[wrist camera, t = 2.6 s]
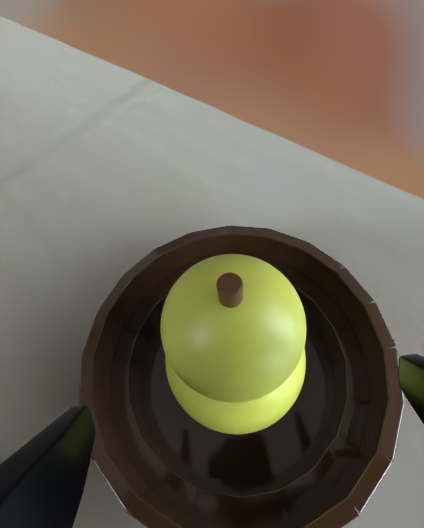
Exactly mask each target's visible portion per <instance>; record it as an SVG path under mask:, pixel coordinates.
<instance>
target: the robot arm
mask: <svg viewBox="0 0 424 528" xmlns="http://www.w3.org/2000/svg"><path fill="white" fill-rule="evenodd" d="M398 381H399V385H400V388H401V390H402V392H403V393H404V395H405V396H406V398H407V399H408V401H409V402H410V404H411V405H412V407H413V408H414V410H415V411H416V413H417V414H418V416H419V417H420V419H421V420H422V422H423V423H424V357H423V356H420V355H417V354H410V355H404V356H401V357H400V358H399V371H398ZM94 440H95V426H94V423H93V420H92V417H91V413H90V410H89V408H88V406H86V405H81V406H75V407H72V408H70V409H69V410H68V411H66V412H65V413H64V414H63V415H61V416H60V417H59V418H58V419H56V420H55V421H54V422H53V423H51V424H50V425H49V426H48V427H46V428H45V429H44V430H43V431H41V432H40V433H39V434H38V435H36V436H35V437H34V438H33V439H31V440H30V441H29V442H28V443H26V444H25V445H24V446H23V447H21V448H20V449H19V450H18V451H16V452H15V453H14V454H13V455H11V456H10V457H9V458H8V459H6V460H5V461H4V462H3V463H1V464H0V528H72V526H73V523H74V519H75V516H76V513H77V510H78V507H79V504H80V500H81V497H82V493H83V489H84V485H85V481H86V476H87V472H88V467H89V463H90V458H91V453H92V449H93V444H94Z"/></svg>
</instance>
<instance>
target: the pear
mask: <svg viewBox="0 0 424 528" xmlns="http://www.w3.org/2000/svg"><path fill="white" fill-rule="evenodd" d="M161 339H162V345H163V348H164V352H165V365H166V374H167V378H168V382H169V385H170V387H171V390H172V392H173V394H174V396H175V398H176V399H177V401H178V402H179V404H180V405H181V406H182V408H183V409H184V410H185V411H186V412H187V413H188V414H189V415H190V416H191V417H192V418H193V419H194V420H196V421H197V422H198V423H200V424H202V425H203V426H205V427H207V428H209V429H212V430H215V431H217V432H221V433H226V434H237V435H238V434H248V433H253V432H257V431H260V430H262V429H265V428H267V427H269V426H270V425H272V424H274V423H275V422H277V421H278V420H279V419H280V418H282V417H283V416H284V415H285V414H286V413H287V412H288V410H289V409H290V408H291V407H292V405H293V404H294V402H295V401H296V399H297V397H298V395H299V393H300V391H301V388H302V385H303V382H304V377H305V371H306V357H305V348H304V347H305V341H306V317H305V312H304V308H303V305H302V303H301V300H300V298H299V296H298V294H297V292H296V290H295V288H294V287H293V285H292V284H291V283H290V281H289V280H288V279H287V278H286V277H285V276H284V275H283V274H282V273H281V272H280V271H278V270H277V269H276V268H275V267H273V266H271V265H270V264H268V263H266V262H264V261H262V260H260V259H258V258H255V257H251V256H247V255H241V254H224V255H218V256H213V257H210V258H207V259H205V260H203V261H201V262H199V263H197V264H195V265H194V266H192V267H191V268H189V269H188V270H187V271H186V272H185V273H184V274H183V275H182V276H181V277H180V278H179V279H178V280H177V281H176V282H175V284H174V285H173V287H172V288H171V290H170V292H169V293H168V296H167V298H166V300H165V303H164V307H163V310H162V315H161Z"/></svg>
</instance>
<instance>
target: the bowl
mask: <svg viewBox="0 0 424 528" xmlns="http://www.w3.org/2000/svg"><path fill="white" fill-rule="evenodd" d="M224 254H241V255H247V256H251V257H255V258H258V259H260V260H262V261H264V262H266V263H268V264H270V265H271V266H273V267H275V268H276V269H277V270H278V271H280V272H281V273H282V274H283V275H284V276H285V277H286V278H287V279H288V280H289V281H290V283H291V284H292V285H293V287H294V288H295V290H296V292H297V294H298V296H299V298H300V300H301V303H302V305H303V308H304V312H305V317H306V341H305V347H304V348H305V357H306V371H305V377H304V382H303V385H302V388H301V391H300V393H299V395H298V397H297V399H296V401H295V402H294V404H293V405H292V407H291V408H290V409H289V410H288V412H287V413H286V414H285V415H284V416H283V417H282V418H280V419H279V420H278V421H277V422H275V423H274V424H272V425H270V426H269V427H267V428H265V429H262V430H260V431H257V432H253V433H248V434H238V435H237V434H226V433H221V432H217V431H215V430H212V429H209V428H207V427H205V426H203V425H202V424H200V423H198V422H197V421H196V420H194V419H193V418H192V417H191V416H190V415H189V414H188V413H187V412H186V411H185V410H184V409H183V408H182V406H181V405H180V404H179V402H178V401H177V399H176V398H175V396H174V394H173V392H172V390H171V387H170V385H169V382H168V378H167V374H166V365H165V352H164V348H163V345H162V339H161V315H162V310H163V307H164V303H165V300H166V298H167V296H168V293H169V292H170V290H171V288H172V287H173V285H174V284H175V282H176V281H177V280H178V279H179V278H180V277H181V276H182V275H183V274H184V273H185V272H186V271H187V270H188V269H189V268H191V267H192V266H194V265H195V264H197V263H199V262H201V261H203V260H205V259H207V258H210V257H213V256H218V255H224ZM398 371H399V360H398V353H397V348H396V345H395V343H394V341H393V339H392V337H391V335H390V333H389V330H388V328H387V326H386V324H385V322H384V320H383V318H382V316H381V313H380V311H379V309H378V307H377V305H376V303H375V302H374V300H373V299H372V298H371V297H370V295H369V294H368V293H367V292H366V291H365V290H364V289H363V287H362V286H361V285H360V284H359V283H358V282H357V280H356V279H355V278H354V277H353V276H352V275H351V274H350V272H349V271H348V270H347V269H346V268H345V267H343V265H341V264H340V263H338V262H337V261H335V260H334V259H332V258H331V257H329V256H328V255H326V254H325V253H323V252H322V251H320V250H319V249H317V248H316V247H314V246H313V245H311V244H310V243H307V242H306V241H303V240H300V239H297V238H295V237H292V236H289V235H286V234H283V233H280V232H277V231H274V230H271V229H269V230H268V229H266V228H253V227H240V226H225V227H219V228H213V229H208V230H202V231H196V232H192V233H189V234H186V235H184V236H182V237H180V238H178V239H176V240H173V241H171V242H169V243H167V244H165V245H163V246H160V247H158V248H156V249H154V250H153V251H152V252H151V253H149V254H148V255H147V256H146V257H144V258H143V259H142V260H141V261H140V262H138V263H137V264H136V265H135V266H134V267H132V268H131V269H130V270H129V271H127V272H126V273H125V274H124V276H122V277H121V279H120V280H119V282H118V283H117V285H116V286H115V287H114V289H113V290H112V292H111V293H110V294H109V296H108V297H107V299H106V300H105V301H104V303H103V304H102V306H101V307H100V309H99V311H98V312H97V315H96V317H95V320H94V323H93V326H92V329H91V331H90V334H89V337H88V340H87V343H86V345H85V348H84V351H83V354H82V366H81V384H80V402H79V406H81V405H86V406H88V408H89V410H90V413H91V417H92V420H93V423H94V426H95V440H94V444H93V449H92V453H91V454H92V458H93V460H94V463H95V465H96V466H97V468H98V469H99V471H100V472H101V474H102V475H103V477H104V478H105V480H106V481H107V483H108V484H109V486H110V487H111V489H112V490H113V492H114V493H115V495H116V497H117V498H118V500H119V501H120V503H121V504H122V506H123V507H124V509H125V510H126V511H127V513H129V514H130V515H131V516H133V517H134V518H135V519H137V520H138V521H140V522H141V523H142V524H144V525H145V526H147V527H148V528H342V527H344V526H345V525H346V524H348V523H349V522H351V521H352V520H354V519H355V518H356V517H358V516H359V514H360V513H361V512H362V511H363V509H364V507H365V506H366V504H367V502H368V501H369V499H370V498H371V496H372V494H373V493H374V491H375V490H376V488H377V486H378V485H379V483H380V482H381V480H382V478H383V477H384V475H385V474H386V472H387V470H388V469H389V467H390V465H391V464H392V461H393V459H394V454H395V449H396V444H397V439H398V433H399V428H400V423H401V418H402V413H403V407H404V396H403V392H402V390H401V388H400V385H399V381H398Z"/></svg>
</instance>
